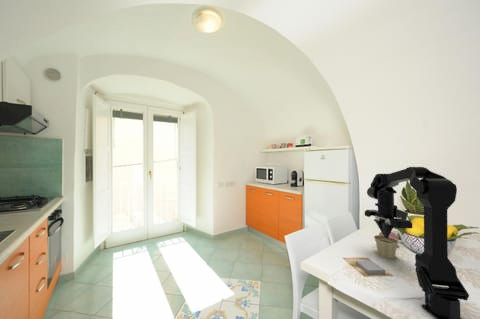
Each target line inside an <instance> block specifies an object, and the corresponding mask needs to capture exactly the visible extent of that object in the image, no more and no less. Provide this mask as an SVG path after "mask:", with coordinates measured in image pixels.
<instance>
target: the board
mask: <svg viewBox="0 0 480 319" xmlns="http://www.w3.org/2000/svg"><path fill="white" fill-rule="evenodd" d="M342 259H343V260H344V261H345V262H346V263H347V264H348V265H350V266H351V267H352V268H353V269H354V270H355V271H356V272H358V273H359V274H360V275H361V276H363V277H364V278H365V277H366V278H367V277H371V278H372V277H394V275H393V274H392V273H391V272H389V271H388V270H386V269H385V274H367V273H366V272H365V271H363V270H362V269H361V268H360V267H358V266H357V265H356V261H373V260H371V259H370V258H369V257H342Z"/></svg>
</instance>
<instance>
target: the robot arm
mask: <svg viewBox="0 0 480 319" xmlns="http://www.w3.org/2000/svg"><path fill="white" fill-rule="evenodd" d="M404 182H409V186H410V187H412V189H413V190H415V192H416V193H415V194H416V198H417V199H418V201H419V202H420V204H422V206H423V252H422V253H415V256H414V259H415V264H414V266H415V273H416V277H417V282H418V286H419V287H420V288H421V291H422V292H424V303H425V304H424V303H423V304H421V307H422V308H423V309H424V310H426V311H427V312H428V313H429V314H430V315H432V316H433V317H435V319H463V317H462V316H461V300H463V301H468V299H469V297H470V294H469V293H468V290H467V289H466V288H465V286H464V285H463V283H462V282H461V280H460V279H459V277H458V274H457V269H456V267H455V266H454V264H453V263H452V262H451V260H450V259H449V257H448V256H449V255H448V253H449V252H448V250H449V249H448V247H449V245H448V243H449V242H448V241H449V239H448V235H449V234H448V209H449V208H450V207H451V206H452V205H453V204H454V203H455V202H456V199H457V198H456V197H457V191H458V189H457V184H455V183H454V182H453V181H451V180H450V179H448V178H447V177H445V176H443V175H441V174H438V173H436V172H434V171H431V170H430V169H428V168H427V167H424V166H409V167H406V168H403V169H401V170H397V171H394V172H391V173H376V174H375V176H374V177H373V179H372V181H371V183H370V187H368V189H367V190H366V194H367V196H368V197H369V198H372V199H374V200H377V202H375V203H374V205H375V207H376V206H377V209H365V211H364V216H365V217H368V218H370V217H372V216H373V217H375V218H374V219H373V221H374V222H375V224H376V225H377V227H378V228H379V230H380V232H382V234H383V236H384V237H385V238H388V237H389V235H390V233H391V232H392V230H393V229H394V228H397V229H413V222H412V221H411V220H409V219H408V216H409V213H408V212H407V211H404V210H402V209H401V210H400V209H398V206H397V205H395V194H397V190H395V189H394V187H397V186H399V185H400V183H404Z"/></svg>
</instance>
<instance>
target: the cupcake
mask: <svg viewBox="0 0 480 319" xmlns="http://www.w3.org/2000/svg"><path fill="white" fill-rule="evenodd" d="M378 235H382V236H383V234H382V232H381V231H380V232H379V233H378ZM389 237H392V238H394V239H396V240H398V241H399V240H400V237H399V235H398V234H396V233H394V232H392V231H391V233H390V235H389Z"/></svg>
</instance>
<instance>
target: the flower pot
mask: <svg viewBox="0 0 480 319" xmlns="http://www.w3.org/2000/svg"><path fill="white" fill-rule="evenodd" d="M373 238H374V241H375V243H376V249H377V251H376V252H377V254H378V255H379V256H380V257H382V258H386V259H395V258H396V252H397V247H398V244H399V243H400V241H399V240H396V239H394V238H392V237H388V238H385V237H384V236H382V235H379V234H378V235H377V234H376V235H374V236H373Z"/></svg>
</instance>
